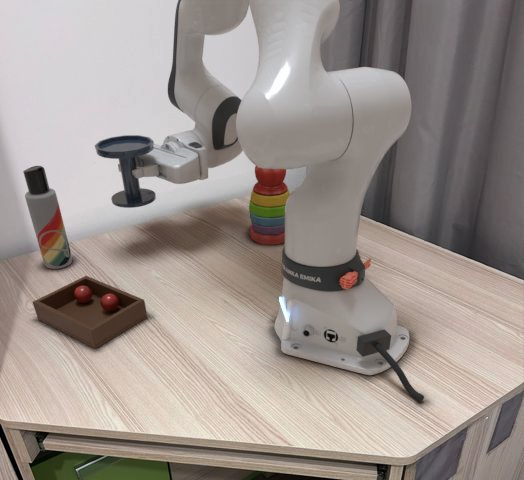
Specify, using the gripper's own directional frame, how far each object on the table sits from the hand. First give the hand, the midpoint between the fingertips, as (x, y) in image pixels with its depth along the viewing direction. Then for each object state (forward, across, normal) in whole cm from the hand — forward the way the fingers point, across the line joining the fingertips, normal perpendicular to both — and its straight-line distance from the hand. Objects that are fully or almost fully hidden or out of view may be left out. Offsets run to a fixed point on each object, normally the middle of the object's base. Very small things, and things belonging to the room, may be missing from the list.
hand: (126, 171), depth 107 cm
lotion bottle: (+15, -7, +17) cm, 24 cm away
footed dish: (-1, 0, +6) cm, 6 cm away
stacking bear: (-24, +17, +17) cm, 34 cm away
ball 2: (+19, +18, +15) cm, 30 cm away
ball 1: (+21, +12, +15) cm, 28 cm away
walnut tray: (+22, +17, +17) cm, 33 cm away
